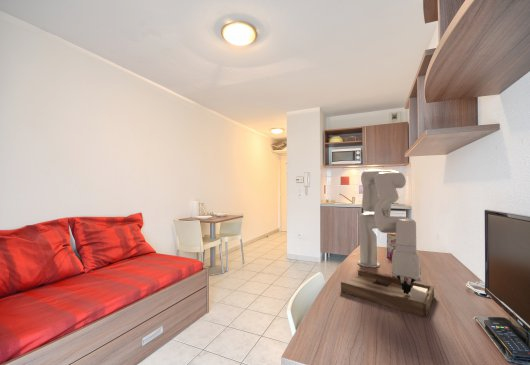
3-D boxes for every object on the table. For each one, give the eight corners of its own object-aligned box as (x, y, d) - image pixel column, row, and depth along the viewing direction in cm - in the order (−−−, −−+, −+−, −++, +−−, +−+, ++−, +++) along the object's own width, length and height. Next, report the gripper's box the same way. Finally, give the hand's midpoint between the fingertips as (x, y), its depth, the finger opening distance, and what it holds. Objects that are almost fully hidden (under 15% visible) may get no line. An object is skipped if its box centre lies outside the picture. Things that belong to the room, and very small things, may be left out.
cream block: (413, 295, 100) (413, 285, 100) (427, 298, 97) (427, 288, 97) (410, 299, 96) (410, 289, 96) (425, 303, 93) (425, 292, 93)
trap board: (358, 278, 124) (358, 269, 124) (434, 296, 103) (433, 286, 103) (340, 292, 108) (340, 282, 108) (426, 317, 87) (425, 305, 87)
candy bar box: (387, 257, 162) (386, 233, 163) (386, 255, 167) (386, 232, 167) (406, 259, 158) (405, 234, 158) (405, 257, 162) (404, 233, 163)
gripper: (384, 247, 103) (384, 290, 102) (425, 253, 93) (426, 301, 92) (388, 244, 108) (389, 285, 108) (428, 249, 98) (429, 295, 98)
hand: (406, 292), depth 100 cm, fingers closed
